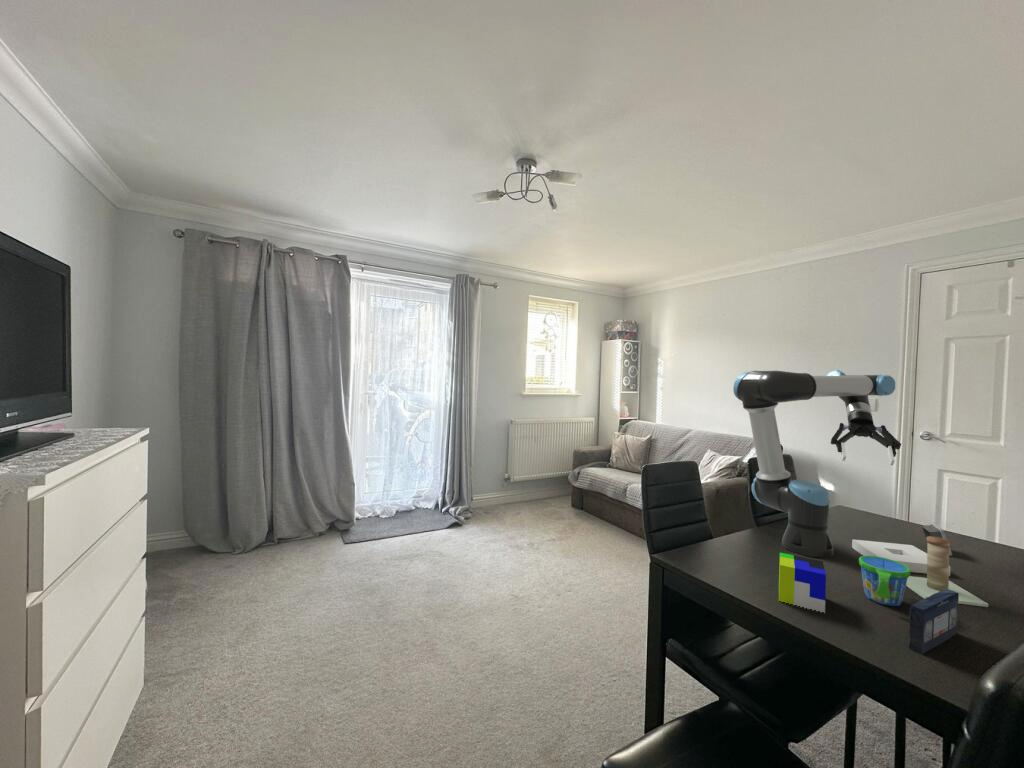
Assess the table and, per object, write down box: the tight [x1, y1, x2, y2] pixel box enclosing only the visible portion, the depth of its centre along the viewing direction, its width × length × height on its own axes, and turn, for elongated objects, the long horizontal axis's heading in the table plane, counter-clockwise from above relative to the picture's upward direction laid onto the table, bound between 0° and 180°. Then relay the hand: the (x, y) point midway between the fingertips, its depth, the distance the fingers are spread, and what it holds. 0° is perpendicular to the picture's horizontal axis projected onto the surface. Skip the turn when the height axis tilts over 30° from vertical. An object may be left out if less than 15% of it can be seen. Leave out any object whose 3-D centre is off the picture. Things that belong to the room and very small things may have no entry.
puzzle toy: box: [778, 552, 827, 614], centre depth 116 cm, size 10×10×10 cm
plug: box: [926, 536, 951, 591], centre depth 122 cm, size 5×5×14 cm
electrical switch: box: [921, 522, 953, 557], centre depth 153 cm, size 9×5×9 cm, turn 152°
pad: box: [906, 575, 989, 608], centre depth 122 cm, size 14×14×1 cm
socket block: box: [851, 539, 951, 577], centre depth 143 cm, size 18×18×3 cm
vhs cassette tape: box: [907, 589, 959, 655], centre depth 98 cm, size 18×3×10 cm, turn 115°
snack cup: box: [858, 555, 911, 607], centre depth 116 cm, size 16×10×10 cm
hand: (867, 460), depth 153 cm, fingers open, 13 cm apart
